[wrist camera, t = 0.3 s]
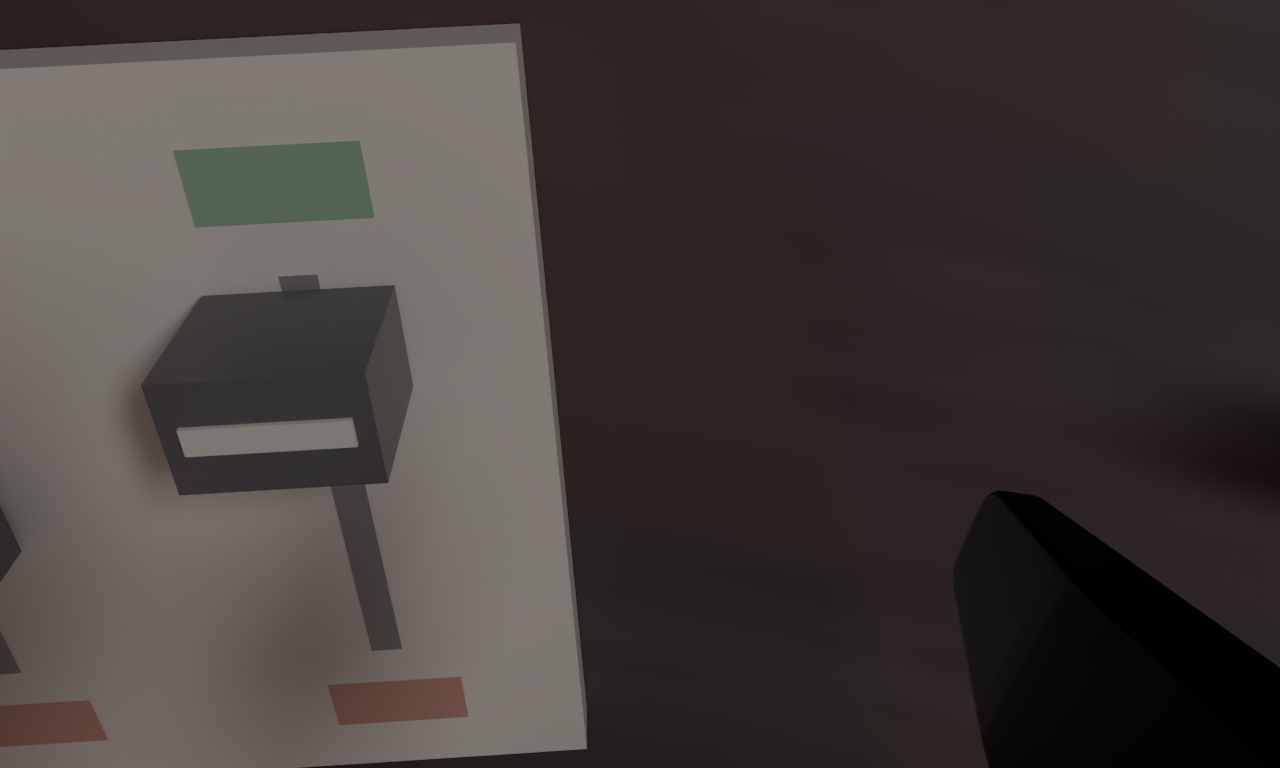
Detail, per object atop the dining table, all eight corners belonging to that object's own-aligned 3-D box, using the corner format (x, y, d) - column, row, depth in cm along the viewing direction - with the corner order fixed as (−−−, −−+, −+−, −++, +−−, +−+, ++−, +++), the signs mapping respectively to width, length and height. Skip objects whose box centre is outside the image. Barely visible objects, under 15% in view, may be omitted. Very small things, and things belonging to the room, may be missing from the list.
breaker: (413, 386, 23) (387, 486, 20) (231, 396, 23) (177, 498, 20) (394, 285, 22) (363, 375, 19) (201, 295, 22) (138, 388, 18)
